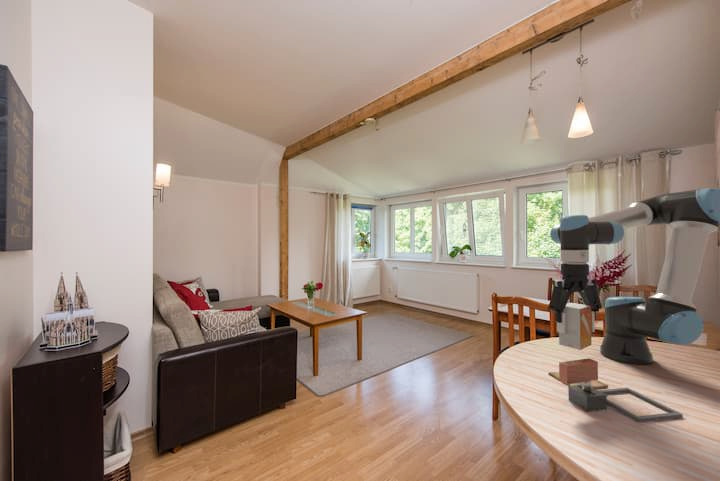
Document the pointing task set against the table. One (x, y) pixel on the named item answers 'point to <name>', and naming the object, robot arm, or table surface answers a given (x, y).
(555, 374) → the cork pad
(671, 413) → the seat rim
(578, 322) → the small box
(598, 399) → the key housing
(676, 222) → the robot arm
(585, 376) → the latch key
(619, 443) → the table surface
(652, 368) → the table surface
